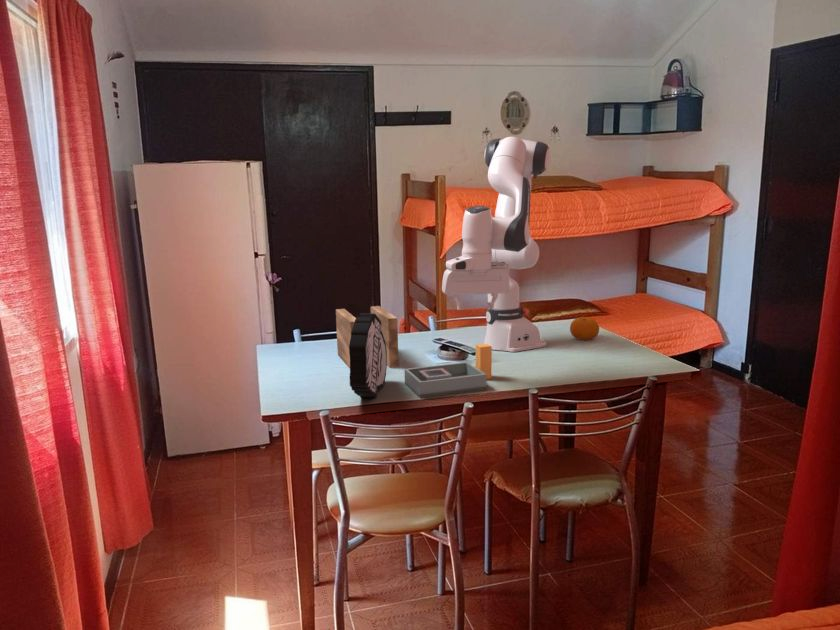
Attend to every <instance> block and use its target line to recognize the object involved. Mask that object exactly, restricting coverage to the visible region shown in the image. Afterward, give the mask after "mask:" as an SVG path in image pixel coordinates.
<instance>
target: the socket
mask: <svg viewBox="0 0 840 630" xmlns="http://www.w3.org/2000/svg"><path fill="white" fill-rule="evenodd" d="M445 378H452V375H451V374H450V373H448V372H447V371H446V370H444V369H443V368H439V369H430V370H422V371H419V379H420V380H421V381H428V380H437V379H445Z"/></svg>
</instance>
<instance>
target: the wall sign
mask: <svg viewBox="0 0 840 630" xmlns="http://www.w3.org/2000/svg"><path fill="white" fill-rule="evenodd" d="M355 318H356V319H355V323H354V325H353V328H352V333H351V339H350V344H349V355H350V368H349V386H350V387H351V391H353V393H354V394H355V395H357V396H358V397H359V398H363V399H377V395H378V391H379V390H380V389H382V388H383V387H384V386H385V382H386V377H387V375H386V374H387V367H388V366H387V349H386V343H385V340H384V337H383V334H382V331H381V321H380V319H379V318H378V317H377V316H376V314H371V313H365V312H364V313H359V316H356V317H355Z"/></svg>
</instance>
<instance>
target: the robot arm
mask: <svg viewBox="0 0 840 630" xmlns="http://www.w3.org/2000/svg"><path fill="white" fill-rule="evenodd" d="M550 151H551V150H550V147H549V146H548V144H547V143H545V142H543V141H539V140H538V141H535V140H534V141H533V140H528V139H521V138H519V137H517V136H508V137H507V136H506V137H505V138H503V139H502V138H499V137H498V138H493V139H491V140H489V142H488V143H487V144H486V147H485V150H484V161H485V165H486V166H487V167H488V171H487V179H488V183H489V184H490V186H491V188H492V189H493V190H494V191H495V192H497V193H498V197H497V201H496V206H495V212H494V216H492V210H491V207H489V206H484V205H477V206H470V207H467V208H466V209H465V210H464V213H463V218H462V228H461V229H462V230H461V239H462V249H461V255H460V256H458V257H455V258H452V259H449V260H447V261H446V262H445V267H446V269H445V270H444V272H443V276H442V282H441V291H442V293H443V294H444V295H446V296H453V299H454V302H456V306H457V307H456V308H457V309H456V310H457V311H462V310H463V311H464V308H465V307H464V306H465V304H464V303H463V302H461V301H460V299H461V296H463V295H464V296H465V295H487V301H486V303H487V306H486V310H485V311H486V313H485V316H486V317H485V319H486V330H485V331H486V332H485V336H484V340H483V343H482V344H488V345H490V346H492V350H493V351H505V352H511V353H517V352H522V351H527V350H532V349H539V348H544V347H547V342H546V340H544V339H542V338H541V334H540V330H539V328H538V327H537V326H536V324H534V323H532V322H531V321H530V320H529V319H527V318H526V317H525V316H524V315H529V313H530V309H528V308H526V307H524V308H523V307H521V305H520V286H519V283H518V281H516V280H514V279H513V278H512V277H511V276H510V269H512V270H523V269H525V270H526V269H530V268H533V267H534V266H535V265H536V264H537V263H538V260H539V259H540V247H539V245H538V243H537V242H536V241H535V240H534V239H533V237H532V236H531V231H530V214H531V195H532V179H537V177H538V176H540V175H542V174H543V173H544V172H545V171H546V170H547V168H548V166H549V164H550V161H551V152H550ZM532 177H533V178H532Z"/></svg>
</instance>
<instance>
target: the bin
mask: <svg viewBox="0 0 840 630" xmlns="http://www.w3.org/2000/svg"><path fill="white" fill-rule="evenodd" d="M439 368H443V369H444V370H446V371H447V372H448V373H450V374H451V375H452V378H445V379H437V380H428V381H421V380H420V379H419V371H422V370H430V369H439ZM403 369H404V385H405V386H406V387H408V388H409V389H410V390H411V391H412V392H413V393H414V394H415V395H416V396H417V397H418V398H419V399H425V398H429V397H431V398H432V397H440V396H446V395H455V394H462V393H471V392H477V391H486V390H487V380H488V379H487V374H485V373H484V372H482V371H480V370H479V369H477V368H476V366H474V365H473V364H471V363H469V362H468V361H465V362H457V363H456V362H455V363H446V364H445V363H444V364H436V365H429V366H422V367H421V366H419V367H411V368H403Z"/></svg>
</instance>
